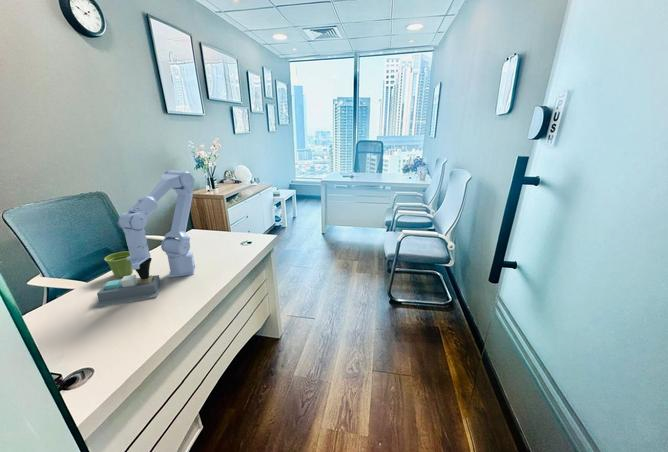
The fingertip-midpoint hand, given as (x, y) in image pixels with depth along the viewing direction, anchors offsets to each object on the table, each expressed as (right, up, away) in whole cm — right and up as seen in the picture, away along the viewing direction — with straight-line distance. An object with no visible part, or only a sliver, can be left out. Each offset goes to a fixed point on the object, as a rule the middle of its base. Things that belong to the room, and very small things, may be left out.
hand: (145, 278), depth 99 cm
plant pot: (-19, -1, +13) cm, 23 cm away
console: (-5, -5, 0) cm, 7 cm away
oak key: (0, -3, +1) cm, 3 cm away
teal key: (-9, -4, -3) cm, 11 cm away
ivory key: (-5, -3, -1) cm, 6 cm away
